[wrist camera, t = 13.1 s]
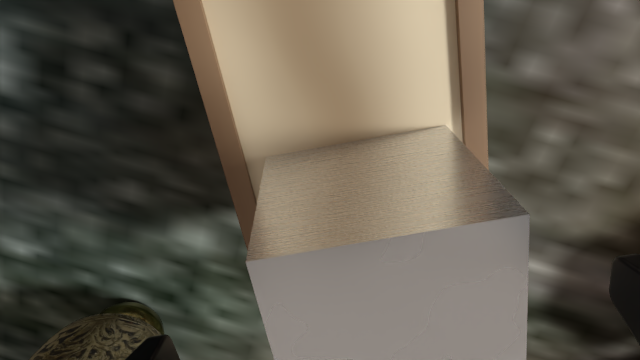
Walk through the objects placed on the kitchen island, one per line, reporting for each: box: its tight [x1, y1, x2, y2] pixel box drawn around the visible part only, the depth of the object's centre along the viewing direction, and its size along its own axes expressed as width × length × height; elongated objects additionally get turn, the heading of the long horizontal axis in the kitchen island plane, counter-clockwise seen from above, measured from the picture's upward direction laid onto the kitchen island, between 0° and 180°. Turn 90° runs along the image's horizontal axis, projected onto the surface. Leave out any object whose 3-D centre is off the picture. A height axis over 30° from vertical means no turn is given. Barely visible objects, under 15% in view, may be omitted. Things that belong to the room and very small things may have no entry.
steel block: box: [246, 125, 530, 360], centre depth 11 cm, size 5×5×5 cm
